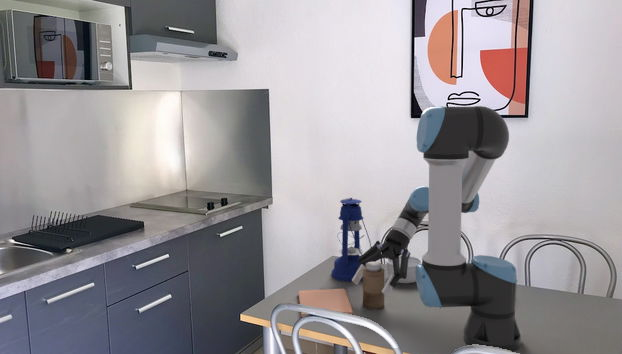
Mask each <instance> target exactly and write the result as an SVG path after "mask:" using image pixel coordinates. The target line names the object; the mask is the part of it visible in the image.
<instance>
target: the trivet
mask: <svg viewBox="0 0 622 354" xmlns="http://www.w3.org/2000/svg"><path fill="white" fill-rule="evenodd" d="M298 300H299V305H300V304H303V305H307V306H312V307H318V308H324V309H329V310H334V311H339V312H343V313H348V314H353V315H354V311H353V308H352V306H351V303H350V300H349V297H348V295H347V292H346V289H345V288H334V289H333V288H330V289H306V290H298ZM305 315H307V314H306V313H301V312H300V317H302V316H305Z"/></svg>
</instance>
